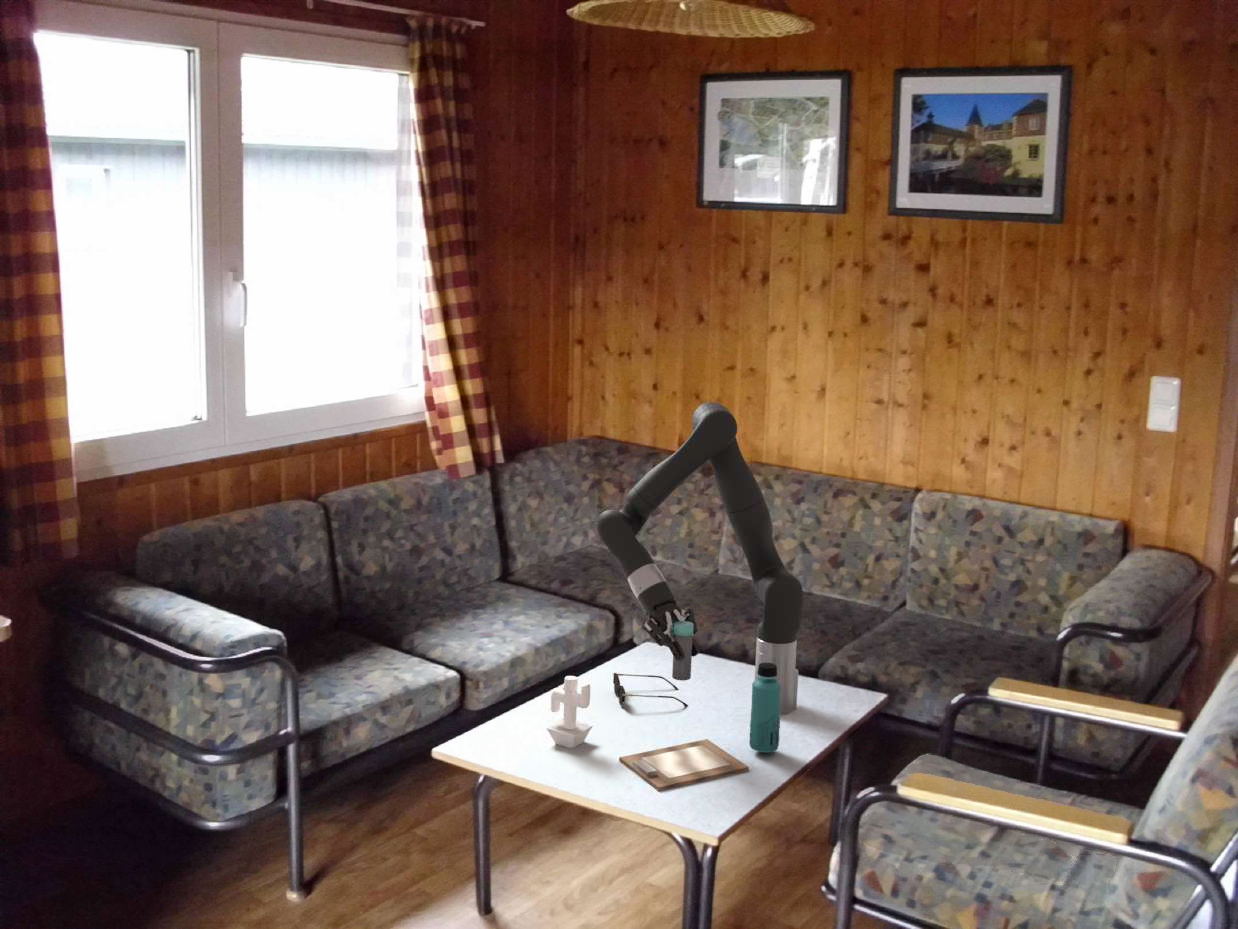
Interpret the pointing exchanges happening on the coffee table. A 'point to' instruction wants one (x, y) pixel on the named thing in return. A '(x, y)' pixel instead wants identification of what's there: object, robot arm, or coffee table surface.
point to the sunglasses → (621, 694)
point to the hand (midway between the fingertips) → (689, 656)
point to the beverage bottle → (765, 710)
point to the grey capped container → (684, 638)
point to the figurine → (570, 713)
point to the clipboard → (683, 764)
